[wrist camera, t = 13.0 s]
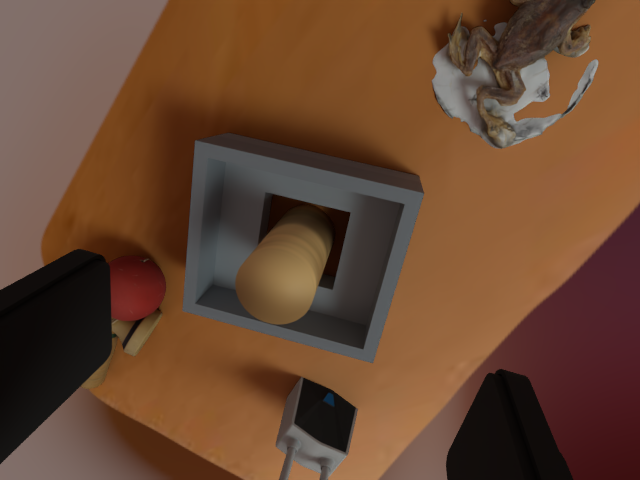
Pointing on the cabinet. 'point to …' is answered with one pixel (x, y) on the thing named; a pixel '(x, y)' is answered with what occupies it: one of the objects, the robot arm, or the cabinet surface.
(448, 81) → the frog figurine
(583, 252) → the cabinet surface
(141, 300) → the kendama
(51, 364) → the robot arm
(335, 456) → the padlock
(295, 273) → the peg
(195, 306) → the peg box
